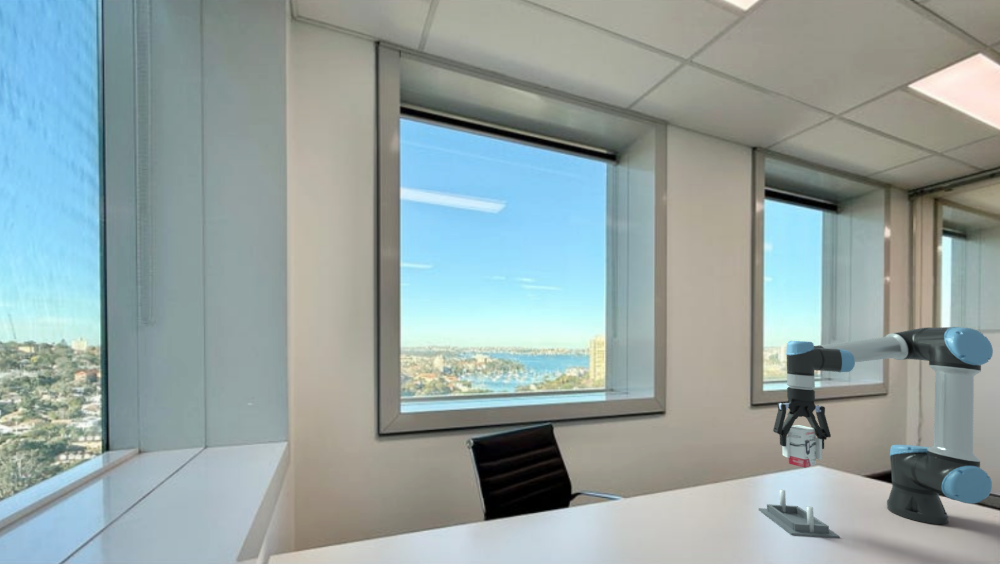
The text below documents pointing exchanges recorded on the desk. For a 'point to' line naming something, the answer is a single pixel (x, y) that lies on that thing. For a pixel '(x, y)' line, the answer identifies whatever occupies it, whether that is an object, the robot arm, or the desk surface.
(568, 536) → the desk surface
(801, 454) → the ink box
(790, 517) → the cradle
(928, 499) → the robot arm
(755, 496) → the desk surface
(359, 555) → the desk surface
